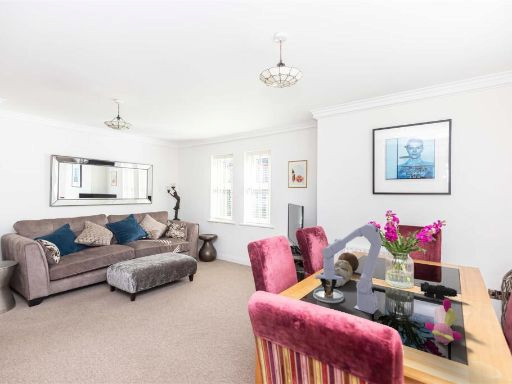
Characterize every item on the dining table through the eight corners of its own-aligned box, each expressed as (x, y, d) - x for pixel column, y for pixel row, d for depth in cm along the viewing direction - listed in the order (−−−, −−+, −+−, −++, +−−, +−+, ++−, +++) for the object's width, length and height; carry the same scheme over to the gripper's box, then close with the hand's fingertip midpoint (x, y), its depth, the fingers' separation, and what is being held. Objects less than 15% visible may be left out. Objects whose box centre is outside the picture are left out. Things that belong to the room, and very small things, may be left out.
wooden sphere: (362, 272, 197) (362, 252, 197) (352, 277, 187) (352, 256, 187) (343, 268, 208) (344, 249, 208) (333, 272, 198) (333, 252, 198)
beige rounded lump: (314, 280, 178) (341, 266, 191) (329, 298, 168) (356, 282, 181) (321, 265, 168) (348, 252, 182) (337, 283, 159) (365, 268, 172)
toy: (429, 314, 129) (421, 344, 106) (432, 290, 128) (425, 314, 104) (461, 325, 121) (460, 359, 98) (464, 299, 120) (465, 328, 97)
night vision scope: (457, 304, 148) (457, 297, 141) (419, 297, 158) (418, 291, 152) (456, 291, 152) (456, 283, 146) (420, 285, 162) (418, 278, 156)
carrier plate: (348, 296, 152) (348, 290, 152) (335, 305, 140) (335, 299, 140) (322, 289, 164) (322, 283, 164) (307, 297, 152) (307, 291, 152)
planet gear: (334, 296, 148) (334, 285, 148) (330, 299, 144) (330, 288, 144) (326, 294, 151) (326, 283, 151) (322, 296, 147) (322, 286, 147)
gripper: (341, 267, 150) (341, 290, 150) (315, 265, 153) (315, 288, 153) (342, 270, 143) (342, 295, 143) (315, 268, 146) (315, 293, 146)
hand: (328, 292), depth 148 cm, fingers open, 3 cm apart
